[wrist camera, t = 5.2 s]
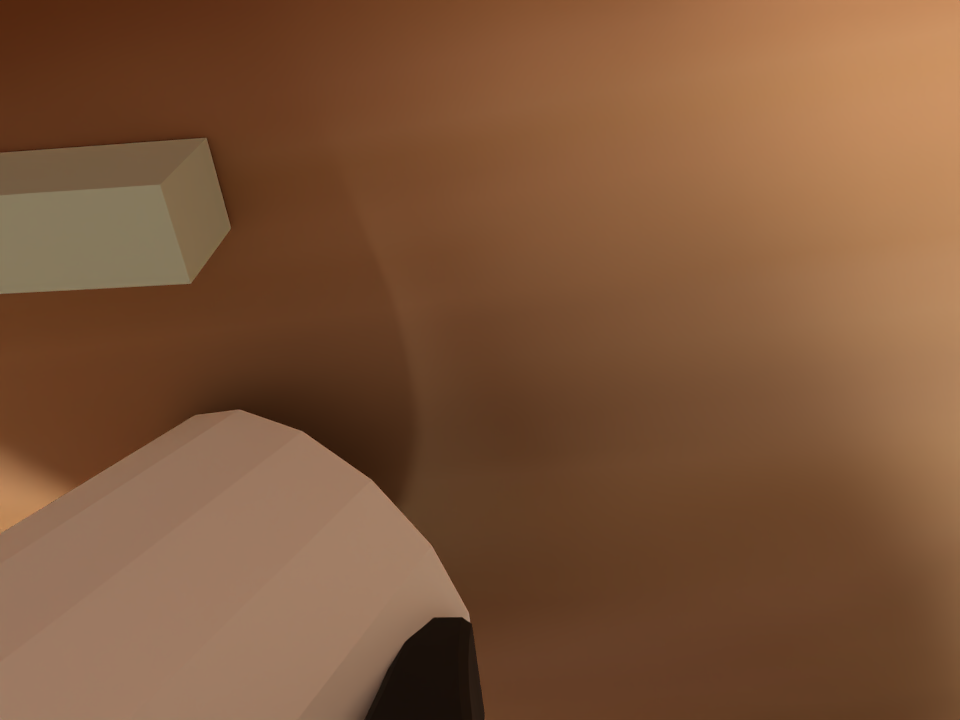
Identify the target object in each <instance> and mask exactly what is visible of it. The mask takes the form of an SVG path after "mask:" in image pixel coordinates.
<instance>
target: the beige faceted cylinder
mask: <svg viewBox="0 0 960 720" xmlns="http://www.w3.org/2000/svg"><path fill="white" fill-rule="evenodd" d="M434 617H463V618H464V619H465V620H467V621H468V622H470V617H469V612H468V610H467V608H466V607H465V605H464V603H463V601H462V599H461V597H460V596H459V594H458V592H457V590H456V588H455V587H454V585H453V583H452V581H451V579H450V577H449V576H448V574H447V572H446V570H445V568H444V567H443V565H442V563H441V561H440V559H439V557H438V556H437V554H436V552H435V550H434V548H433V547H432V545H431V544H430V543H429V542H428V541H427V540H426V538H425V537H424V536H423V535H422V534H421V533H420V532H419V531H418V530H417V529H416V528H415V526H414V525H413V524H412V523H411V522H410V521H409V520H408V519H407V518H406V517H405V516H404V514H403V513H402V512H401V511H400V510H399V509H398V508H397V507H396V506H395V505H394V504H393V502H392V501H391V500H390V499H389V498H388V497H387V496H386V495H385V494H384V493H383V491H382V490H381V489H380V488H379V487H378V486H377V485H376V484H375V483H374V482H373V481H372V480H371V479H370V478H368V477H367V476H366V475H364V474H363V473H361V472H360V471H358V470H357V469H356V468H354V467H353V466H351V465H350V464H348V463H347V462H346V461H344V460H343V459H341V458H340V457H338V456H337V455H336V454H334V453H333V452H331V451H330V450H328V449H327V448H326V447H324V446H323V445H321V444H320V443H318V442H317V441H316V440H314V439H313V438H311V437H310V436H308V435H307V434H306V433H304V432H303V431H300V430H297V429H295V428H292V427H289V426H286V425H283V424H280V423H277V422H274V421H272V420H269V419H266V418H263V417H260V416H257V415H254V414H252V413H249V412H246V411H243V410H240V409H238V410H231V411H223V412H215V413H207V414H199V415H194V416H193V417H191V418H189V419H188V420H186V421H184V422H183V423H181V424H179V425H178V426H176V427H174V428H173V429H171V430H170V431H168V432H166V433H165V434H163V435H161V436H160V437H158V438H156V439H155V440H153V441H152V442H150V443H148V444H147V445H145V446H143V447H142V448H140V449H138V450H137V451H135V452H133V453H132V454H130V455H129V456H127V457H125V458H124V459H122V460H120V461H119V462H117V463H115V464H114V465H112V466H110V467H109V468H107V469H106V470H104V471H102V472H101V473H99V474H97V475H96V476H94V477H92V478H91V479H89V480H88V481H86V482H84V483H83V484H81V485H79V486H78V487H76V488H74V489H73V490H71V491H69V492H68V493H66V494H65V495H63V496H61V497H60V498H58V499H56V500H55V501H53V502H51V503H50V504H48V505H47V506H45V507H43V508H42V509H40V510H38V511H37V512H35V513H33V514H32V515H30V516H28V517H27V518H25V519H24V520H22V521H20V522H19V523H17V524H15V525H14V526H12V527H10V528H9V529H7V530H6V531H4V532H2V533H1V534H0V720H364V719H365V717H366V715H367V713H368V711H369V709H370V707H371V705H372V702H373V700H374V698H375V696H376V694H377V692H378V690H379V688H380V686H381V683H382V681H383V679H384V677H385V675H386V672H387V670H388V668H389V667H390V665H391V664H392V662H393V660H394V659H395V657H396V656H397V654H398V652H399V651H400V649H401V647H402V646H403V644H404V642H405V641H406V640H408V639H409V638H410V637H411V636H412V635H413V634H415V633H416V632H417V631H418V630H420V629H421V628H422V627H423V626H424V625H426V624H427V623H428V622H429V621H430V620H431V619H432V618H434Z"/></svg>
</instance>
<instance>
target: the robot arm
mask: <svg viewBox="0 0 960 720" xmlns="http://www.w3.org/2000/svg"><path fill="white" fill-rule="evenodd" d="M364 720H484V706H483V699H482V692H481V685H480V678H479V671H478V664H477V657H476V650H475V643H474V636H473V629H472V624H471V623H470V622H468V621H467V620H465V619H464V618H463V617H434V618H432V619H431V620H430V621H429V622H428V623H427V624H426V625H424V626H423V627H422V628H421V629H420V630H418V631H417V632H416V633H415V634H413V635H412V636H411V637H410V638H409V639H408V640H406V641H405V642H404V644H403V646H402V647H401V649H400V651H399V652H398V654H397V656H396V657H395V659H394V660H393V662H392V664H391V665H390V667H389V668H388V670H387V672H386V675H385V677H384V679H383V681H382V683H381V686H380V688H379V690H378V692H377V694H376V696H375V698H374V700H373V702H372V705H371V707H370V709H369V711H368V713H367V715H366V717H365V719H364Z"/></svg>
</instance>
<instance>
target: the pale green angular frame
mask: <svg viewBox="0 0 960 720" xmlns="http://www.w3.org/2000/svg"><path fill="white" fill-rule="evenodd" d="M230 229H231V226H230V222H229V218H228V215H227V211H226V207H225V204H224V200H223V196H222V193H221V189H220V185H219V182H218V178H217V174H216V171H215V167H214V163H213V159H212V156H211V152H210V148H209V145H208V141H207V138H195V139H181V140H167V141H153V142H140V143H126V144H112V145H98V146H84V147H71V148H57V149H43V150H29V151H15V152H2V153H0V294H9V293H28V292H47V291H65V290H84V289H103V288H122V287H140V286H159V285H178V284H191V283H192V282H193V280H194V279H195V277H196V276H197V275H198V273H199V272H200V271H201V269H202V268H203V266H204V265H205V264H206V262H207V261H208V260H209V258H210V257H211V256H212V254H213V253H214V251H215V250H216V249H217V247H218V246H219V245H220V243H221V242H222V240H223V239H224V238H225V236H226V235H227V234H228V232H229V231H230Z"/></svg>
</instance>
